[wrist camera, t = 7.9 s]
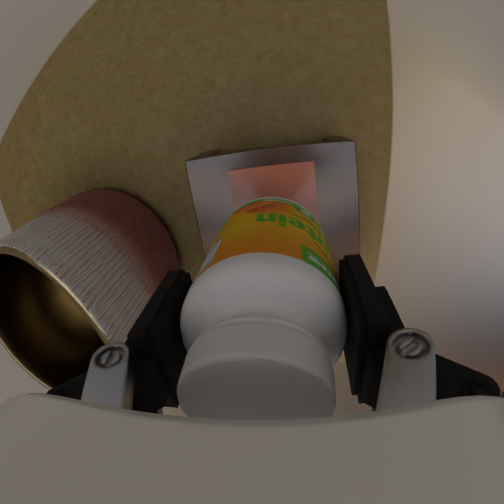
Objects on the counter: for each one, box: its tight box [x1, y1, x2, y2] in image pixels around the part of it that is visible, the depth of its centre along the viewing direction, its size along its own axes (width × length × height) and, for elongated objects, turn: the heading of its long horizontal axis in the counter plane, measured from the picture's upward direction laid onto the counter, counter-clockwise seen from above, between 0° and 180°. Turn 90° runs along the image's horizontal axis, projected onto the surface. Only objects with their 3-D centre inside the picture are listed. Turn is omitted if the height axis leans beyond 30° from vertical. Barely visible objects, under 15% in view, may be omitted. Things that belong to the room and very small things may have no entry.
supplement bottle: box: [177, 197, 348, 420], centre depth 11 cm, size 5×5×10 cm
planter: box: [0, 189, 180, 390], centre depth 26 cm, size 18×18×16 cm
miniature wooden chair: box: [185, 136, 360, 283], centre depth 24 cm, size 12×13×10 cm
